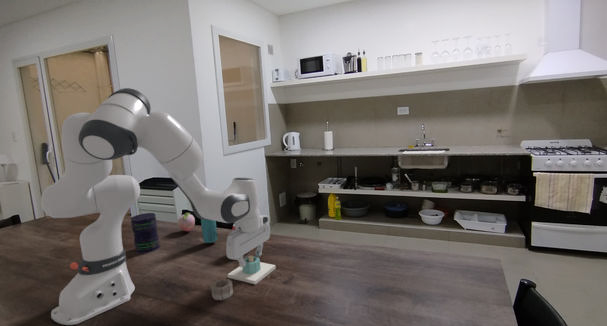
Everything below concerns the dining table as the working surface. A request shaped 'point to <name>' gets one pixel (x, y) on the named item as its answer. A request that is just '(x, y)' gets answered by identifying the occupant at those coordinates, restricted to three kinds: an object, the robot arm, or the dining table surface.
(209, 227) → the beverage bottle
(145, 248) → the storage jar
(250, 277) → the post stand
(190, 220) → the decorative fruit
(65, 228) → the dining table surface
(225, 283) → the grey ring
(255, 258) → the teal ring
